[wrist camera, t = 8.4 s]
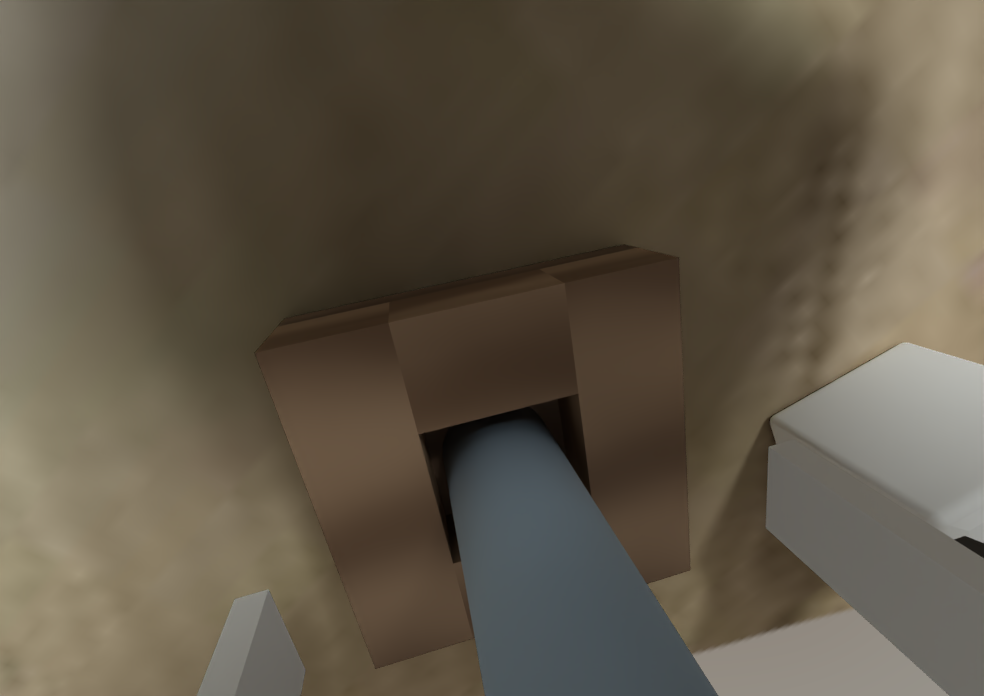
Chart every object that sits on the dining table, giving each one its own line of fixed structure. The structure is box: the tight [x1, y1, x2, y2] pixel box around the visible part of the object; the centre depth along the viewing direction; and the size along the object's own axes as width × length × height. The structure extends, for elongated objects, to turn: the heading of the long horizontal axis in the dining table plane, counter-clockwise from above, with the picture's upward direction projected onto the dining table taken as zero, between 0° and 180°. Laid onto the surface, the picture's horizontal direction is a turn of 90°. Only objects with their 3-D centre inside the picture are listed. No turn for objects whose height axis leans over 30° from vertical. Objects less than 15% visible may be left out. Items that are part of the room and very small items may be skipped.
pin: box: [443, 406, 718, 696], centre depth 12 cm, size 4×4×12 cm
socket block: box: [255, 245, 690, 669], centre depth 17 cm, size 12×12×4 cm
